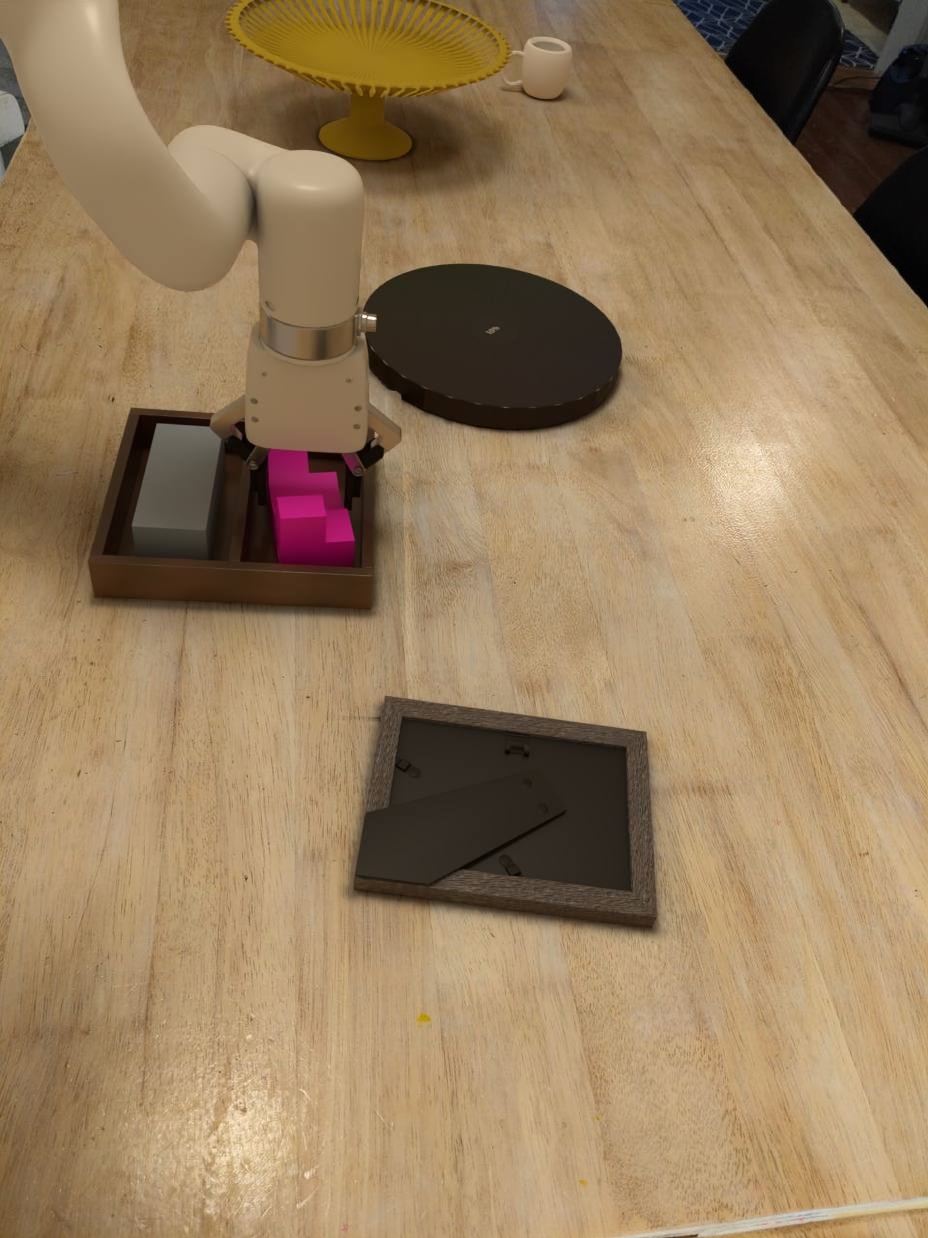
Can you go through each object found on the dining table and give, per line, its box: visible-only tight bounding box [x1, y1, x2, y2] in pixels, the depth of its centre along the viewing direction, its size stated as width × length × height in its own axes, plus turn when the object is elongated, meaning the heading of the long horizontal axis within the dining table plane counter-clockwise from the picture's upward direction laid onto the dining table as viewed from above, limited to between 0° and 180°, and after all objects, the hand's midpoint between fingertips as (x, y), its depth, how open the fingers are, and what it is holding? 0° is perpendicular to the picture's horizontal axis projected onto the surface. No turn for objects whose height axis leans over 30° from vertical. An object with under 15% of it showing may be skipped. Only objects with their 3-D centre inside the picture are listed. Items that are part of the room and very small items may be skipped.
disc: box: [362, 262, 624, 430], centre depth 118 cm, size 30×30×3 cm
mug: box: [499, 36, 573, 100], centre depth 173 cm, size 12×8×8 cm
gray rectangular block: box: [132, 423, 226, 560], centre depth 91 cm, size 6×14×5 cm, turn 3°
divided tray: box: [87, 407, 376, 611], centre depth 93 cm, size 23×21×5 cm
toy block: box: [267, 449, 355, 567], centre depth 92 cm, size 15×6×8 cm, turn 13°
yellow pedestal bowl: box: [223, 0, 513, 161], centre depth 149 cm, size 40×40×15 cm
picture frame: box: [353, 695, 658, 928], centre depth 76 cm, size 16×2×21 cm
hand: (306, 496), depth 92 cm, fingers closed on toy block, 7 cm apart
